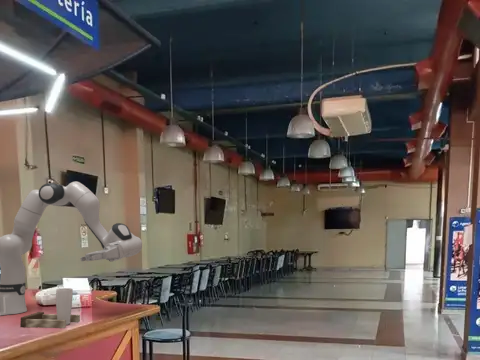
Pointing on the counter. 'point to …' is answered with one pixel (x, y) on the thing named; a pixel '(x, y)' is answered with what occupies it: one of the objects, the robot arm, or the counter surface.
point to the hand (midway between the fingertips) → (86, 258)
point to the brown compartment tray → (46, 320)
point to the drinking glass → (64, 304)
